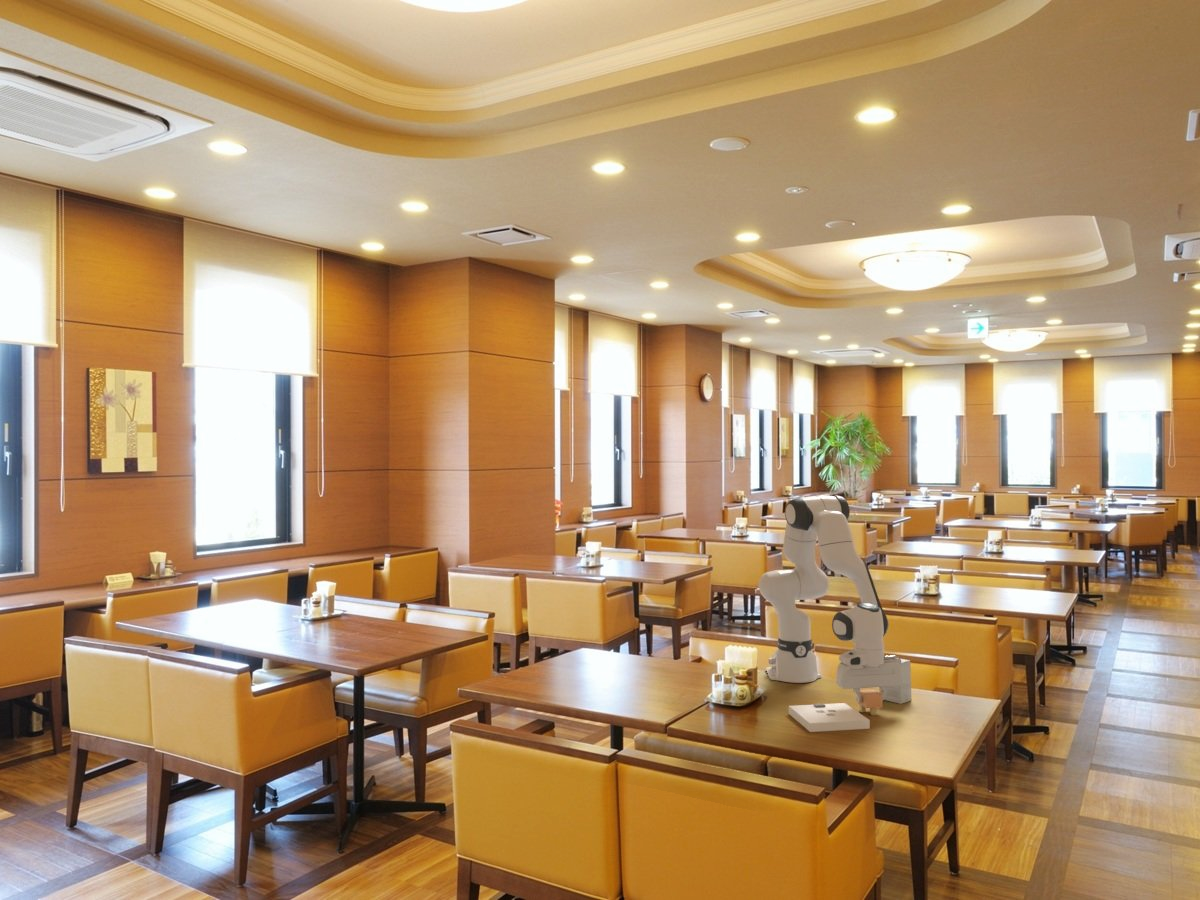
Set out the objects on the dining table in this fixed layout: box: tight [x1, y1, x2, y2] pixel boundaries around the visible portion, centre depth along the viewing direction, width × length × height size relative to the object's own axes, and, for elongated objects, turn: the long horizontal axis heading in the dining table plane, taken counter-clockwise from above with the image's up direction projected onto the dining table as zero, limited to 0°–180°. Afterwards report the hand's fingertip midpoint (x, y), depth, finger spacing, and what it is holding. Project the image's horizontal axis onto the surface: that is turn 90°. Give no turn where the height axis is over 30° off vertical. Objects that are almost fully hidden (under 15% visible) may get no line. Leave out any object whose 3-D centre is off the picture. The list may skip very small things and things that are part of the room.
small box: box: [878, 658, 912, 705], centre depth 280 cm, size 8×6×13 cm
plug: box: [858, 688, 883, 716], centre depth 267 cm, size 6×5×6 cm
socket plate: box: [788, 702, 871, 733], centre depth 259 cm, size 18×18×3 cm
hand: (870, 701), depth 267 cm, fingers closed on plug, 5 cm apart
